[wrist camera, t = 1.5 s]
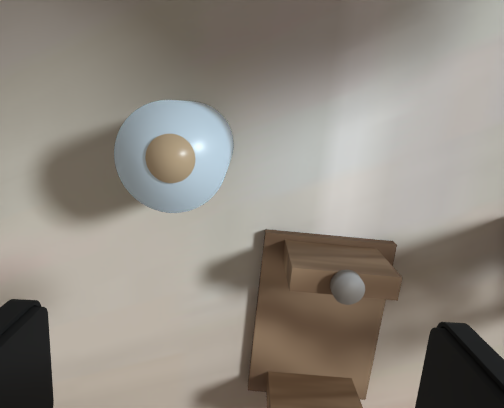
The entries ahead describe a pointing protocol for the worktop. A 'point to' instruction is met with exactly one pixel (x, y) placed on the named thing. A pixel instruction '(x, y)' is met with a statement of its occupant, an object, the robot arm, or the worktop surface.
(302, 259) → the cradle
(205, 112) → the pale blue rounded cylinder
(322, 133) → the worktop surface
